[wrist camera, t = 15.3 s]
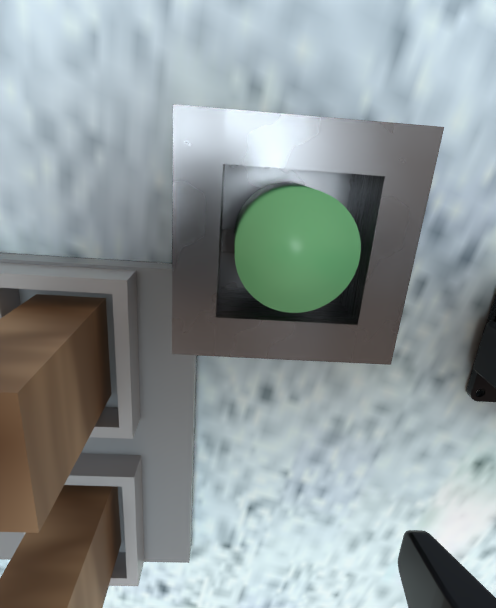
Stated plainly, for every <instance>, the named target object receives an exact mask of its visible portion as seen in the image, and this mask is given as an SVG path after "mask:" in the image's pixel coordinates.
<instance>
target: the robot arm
mask: <svg viewBox="0 0 496 608" xmlns="http://www.w3.org/2000/svg"><path fill="white" fill-rule="evenodd" d="M479 389H480V391H479V392H477V390H479ZM476 392H477V393H476ZM467 394H468V395H469V396H470V397H471V398H472V399H473V400H475V401H484V402H496V296H495V299H494V302H493V305H492V309H491V312H490V315H489V318H488V322H487V324H486V327H485V330H484V333H483V336H482V340H481V343H480V346H479V349H478V353H477V356H476V359H475V362H474V366H473V370H472V373H471V377H470V380H469V383H468V386H467ZM398 568H399V573H400V577H401V581H402V585H403V588H404V592H405V596H406V600H407V604H408V608H496V598H495V597H494V596H493V595H492V594H491V593H490V592H489V591H488V590H487V589H486V588H485V587H484V586H483V585H482V584H481V583H480V582H479V581H478V580H477V579H476V578H475V577H474V576H473V575H472V574H471V573H469V572H468V571H467V570H466V569H465V568H464V567H463V566H462V565H461V564H460V563H459V562H458V561H457V560H456V559H455V558H454V557H453V556H452V555H451V554H450V553H449V552H448V551H447V550H446V549H445V548H444V547H443V546H442V545H441V544H440V543H439V542H438V541H436V540H435V539H434V538H433V537H432V536H431V535H430V534H429V533H427V532H426V531H418V530H409V531H406V532H405V534H404V536H403V540H402V544H401V548H400V553H399V557H398Z"/></svg>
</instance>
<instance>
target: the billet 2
mask: <svg viewBox="0 0 496 608" xmlns="http://www.w3.org/2000/svg"><path fill="white" fill-rule="evenodd" d="M120 546H121V530H120V515H119V501H118V486H84V485H64V486H63V488H62V490H61V492H60V494H59V496H58V498H57V499H56V501H55V503H54V505H53V507H52V509H51V511H50V513H49V515H48V517H47V519H46V520H45V522H44V524H43V526H42V528H41V530H40V532H39V533H27V532H26V533H25V535H24V537H23V539H22V540H21V542H20V544H19V546H18V548H17V549H16V551H15V553H14V555H13V557H12V558H11V560H10V562H9V564H8V565H7V567H6V569H5V571H4V573H3V574H2V576H1V578H0V608H102V607H103V603H104V600H105V597H106V593H107V590H108V586H109V583H110V580H111V576H112V573H113V569H114V566H115V563H116V559H117V556H118V552H119V549H120Z"/></svg>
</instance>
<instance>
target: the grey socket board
mask: <svg viewBox="0 0 496 608" xmlns="http://www.w3.org/2000/svg"><path fill="white" fill-rule="evenodd" d="M36 294H42V295H60V296H78V297H96V298H106V308H107V326H108V343H109V360H110V378H111V396H110V398H109V400H108V402H107V404H106V406H105V408H104V410H103V412H102V414H101V415H100V417H99V419H98V421H97V423H96V425H95V427H94V429H93V431H92V433H91V435H90V436H89V438H88V440H87V442H86V444H85V446H84V448H83V450H82V452H81V454H80V456H79V457H78V459H77V461H76V463H75V465H74V467H73V469H72V471H71V473H70V475H69V477H68V478H67V480H66V482H65V484H64V485H84V486H118V501H119V515H120V530H121V546H120V549H119V552H118V556H117V559H116V563H115V566H114V569H113V573H112V576H111V580H110V583H109V586H138V585H139V581H140V576H141V572H142V567H143V563H144V562H188V563H189V560H190V551H191V528H192V494H193V460H194V426H195V392H196V358H197V355H182V354H172V263H157V262H141V261H124V260H108V259H92V258H75V257H59V256H42V255H26V254H10V253H0V318H2V317H3V316H5V315H6V314H8V313H9V312H11V311H12V310H14V309H15V308H17V307H18V306H20V305H21V304H23V303H24V302H26V301H27V300H29V299H30V298H32V297H33V296H35V295H36ZM25 533H26V532H0V559H11V558H12V557H13V555H14V553H15V551H16V549H17V548H18V546H19V544H20V542H21V540H22V539H23V537H24V535H25Z"/></svg>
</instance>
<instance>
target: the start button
mask: <svg viewBox="0 0 496 608" xmlns="http://www.w3.org/2000/svg"><path fill="white" fill-rule="evenodd" d="M234 240H235V264H236V269H237V272H238V275H239V277H240V280H241V282H242V283H243V285H244V287H245V288H246V289H247V291H248V292H249V293H250V294H251V295H252V296H253V297H254V298H255V299H256V300H257V301H259V302H260V303H262V304H263V305H265V306H267V307H269V308H272V309H274V310H278V311H282V312H288V313H300V312H307V311H311V310H315V309H317V308H320V307H322V306H324V305H326V304H328V303H330V302H331V301H333V300H334V299H335V298H337V297H338V296H339V295H340V294H341V293H342V292H343V291H344V290H345V289H346V287H347V286H348V285H349V283H350V282H351V280H352V278H353V276H354V275H355V272H356V270H357V267H358V264H359V260H360V252H361V241H360V235H359V231H358V228H357V225H356V223H355V221H354V218H353V217H352V215H351V214H350V212H349V211H348V210H347V209H346V208H345V206H344V205H343V204H341V203H340V202H339V201H338V200H337V199H335V198H334V197H332V196H330V195H328V194H326V193H324V192H321V191H319V190H316V189H313V188H310V187H307V186H304V185H301V184H298V183H292V182H280V183H274V184H271V185H268V186H266V187H263V188H262V189H260V190H258V191H257V192H255V193H254V194H253V195H252V196H251V197H250V198H249V199H248V200H247V201H246V202H245V204H244V205H243V206H242V208H241V210H240V212H239V214H238V217H237V220H236V224H235V231H234Z"/></svg>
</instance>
